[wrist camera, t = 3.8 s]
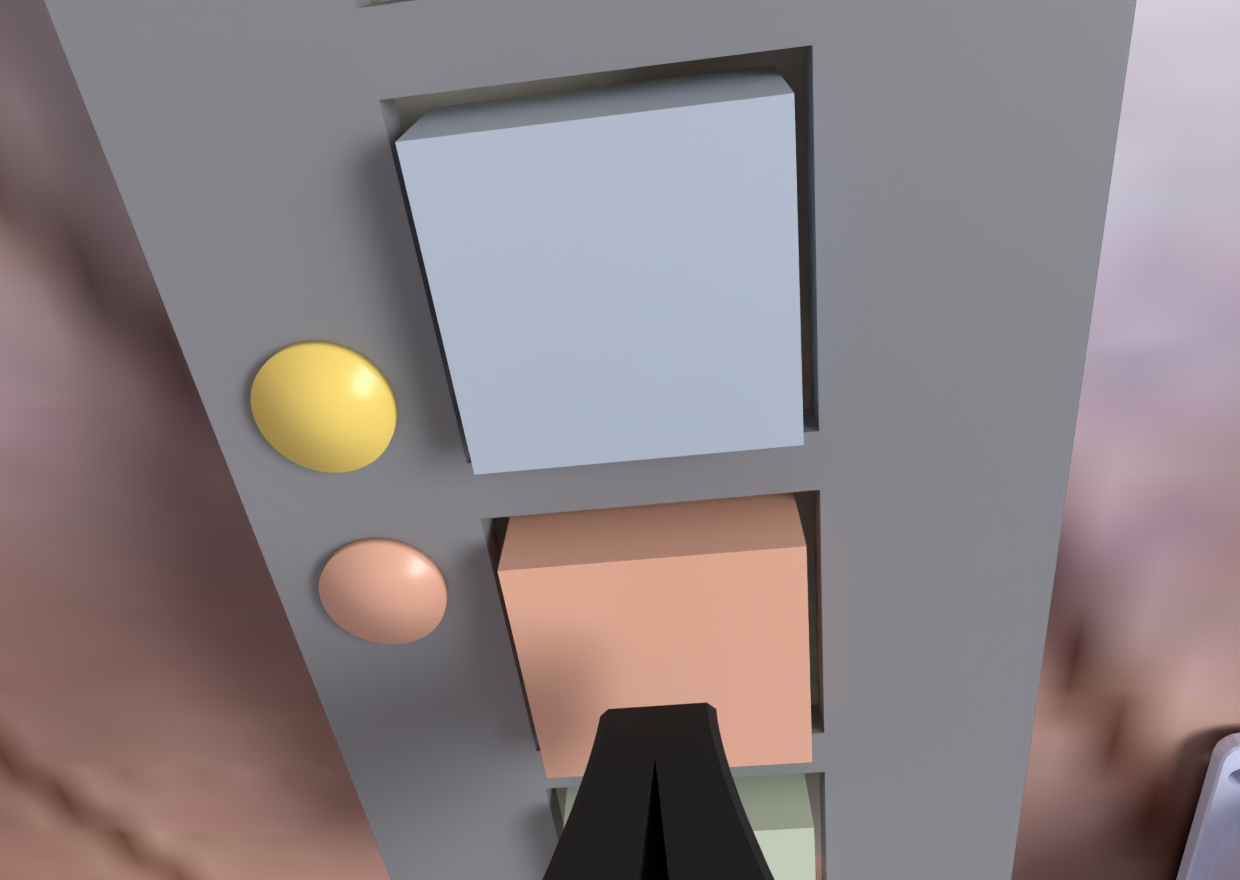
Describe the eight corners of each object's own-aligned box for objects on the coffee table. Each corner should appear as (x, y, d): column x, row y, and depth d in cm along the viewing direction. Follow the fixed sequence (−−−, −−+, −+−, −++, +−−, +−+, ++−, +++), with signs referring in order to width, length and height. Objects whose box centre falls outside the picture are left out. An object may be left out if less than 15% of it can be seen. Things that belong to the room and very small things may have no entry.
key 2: (795, 674, 15) (812, 762, 14) (557, 690, 16) (547, 778, 14) (788, 471, 13) (806, 546, 12) (514, 494, 14) (497, 571, 12)
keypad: (934, 772, 22) (1001, 979, 17) (473, 799, 22) (432, 1002, 18) (1038, -724, 10) (1319, -1179, 6) (69, -536, 11) (-292, -809, 7)
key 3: (784, 378, 13) (804, 445, 11) (495, 405, 13) (474, 475, 11) (773, 64, 11) (794, 93, 9) (431, 108, 11) (395, 142, 9)
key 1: (803, 880, 18) (817, 973, 16) (600, 891, 18) (595, 982, 17) (798, 738, 16) (814, 828, 14) (570, 752, 16) (562, 841, 15)
